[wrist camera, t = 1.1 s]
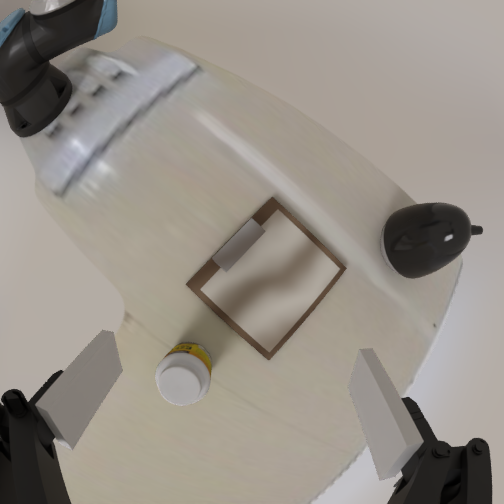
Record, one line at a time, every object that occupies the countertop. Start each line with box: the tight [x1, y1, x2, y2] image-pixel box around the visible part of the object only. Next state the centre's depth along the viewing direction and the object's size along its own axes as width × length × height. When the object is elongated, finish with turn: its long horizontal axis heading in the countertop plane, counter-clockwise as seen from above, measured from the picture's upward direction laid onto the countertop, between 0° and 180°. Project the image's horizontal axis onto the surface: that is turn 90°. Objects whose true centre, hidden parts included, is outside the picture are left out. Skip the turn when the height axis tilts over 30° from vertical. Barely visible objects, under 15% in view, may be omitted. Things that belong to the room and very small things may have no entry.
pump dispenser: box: [380, 203, 483, 279], centre depth 30 cm, size 10×10×15 cm
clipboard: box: [186, 197, 347, 360], centre depth 34 cm, size 14×16×2 cm
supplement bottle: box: [155, 342, 212, 406], centre depth 26 cm, size 6×6×10 cm
